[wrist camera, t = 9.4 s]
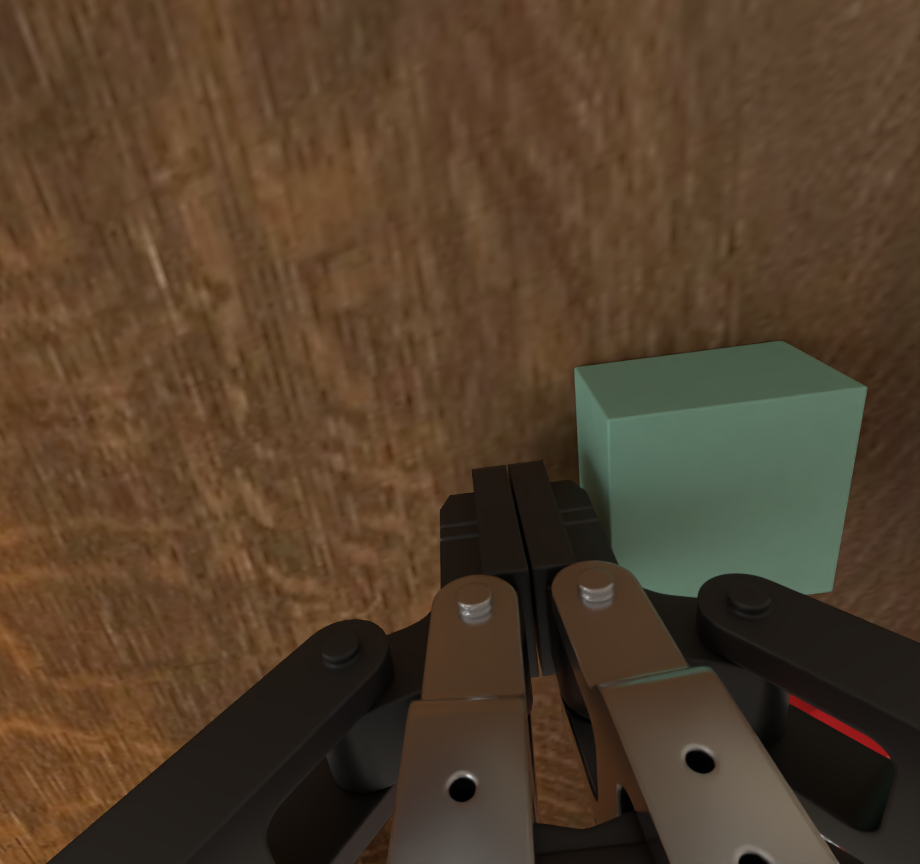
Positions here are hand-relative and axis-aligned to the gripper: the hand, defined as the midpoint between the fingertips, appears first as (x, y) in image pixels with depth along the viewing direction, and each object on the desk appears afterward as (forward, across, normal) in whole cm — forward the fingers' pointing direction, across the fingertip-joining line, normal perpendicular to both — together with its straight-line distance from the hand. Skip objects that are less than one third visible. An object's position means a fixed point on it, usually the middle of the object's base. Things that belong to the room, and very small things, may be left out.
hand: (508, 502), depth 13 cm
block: (+1, -4, 0) cm, 4 cm away
